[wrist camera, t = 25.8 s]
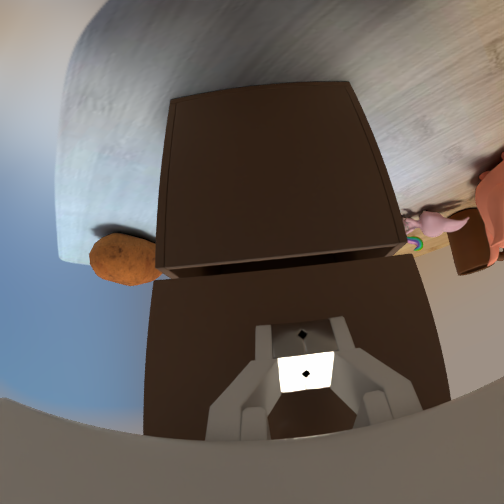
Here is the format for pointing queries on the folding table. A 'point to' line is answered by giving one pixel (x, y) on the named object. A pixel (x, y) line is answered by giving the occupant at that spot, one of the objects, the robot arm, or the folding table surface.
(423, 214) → the pink animal figure
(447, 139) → the folding table surface
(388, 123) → the folding table surface
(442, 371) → the flap
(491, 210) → the teapot
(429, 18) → the folding table surface
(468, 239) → the mug
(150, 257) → the potato
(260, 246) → the carton
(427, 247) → the folding table surface
